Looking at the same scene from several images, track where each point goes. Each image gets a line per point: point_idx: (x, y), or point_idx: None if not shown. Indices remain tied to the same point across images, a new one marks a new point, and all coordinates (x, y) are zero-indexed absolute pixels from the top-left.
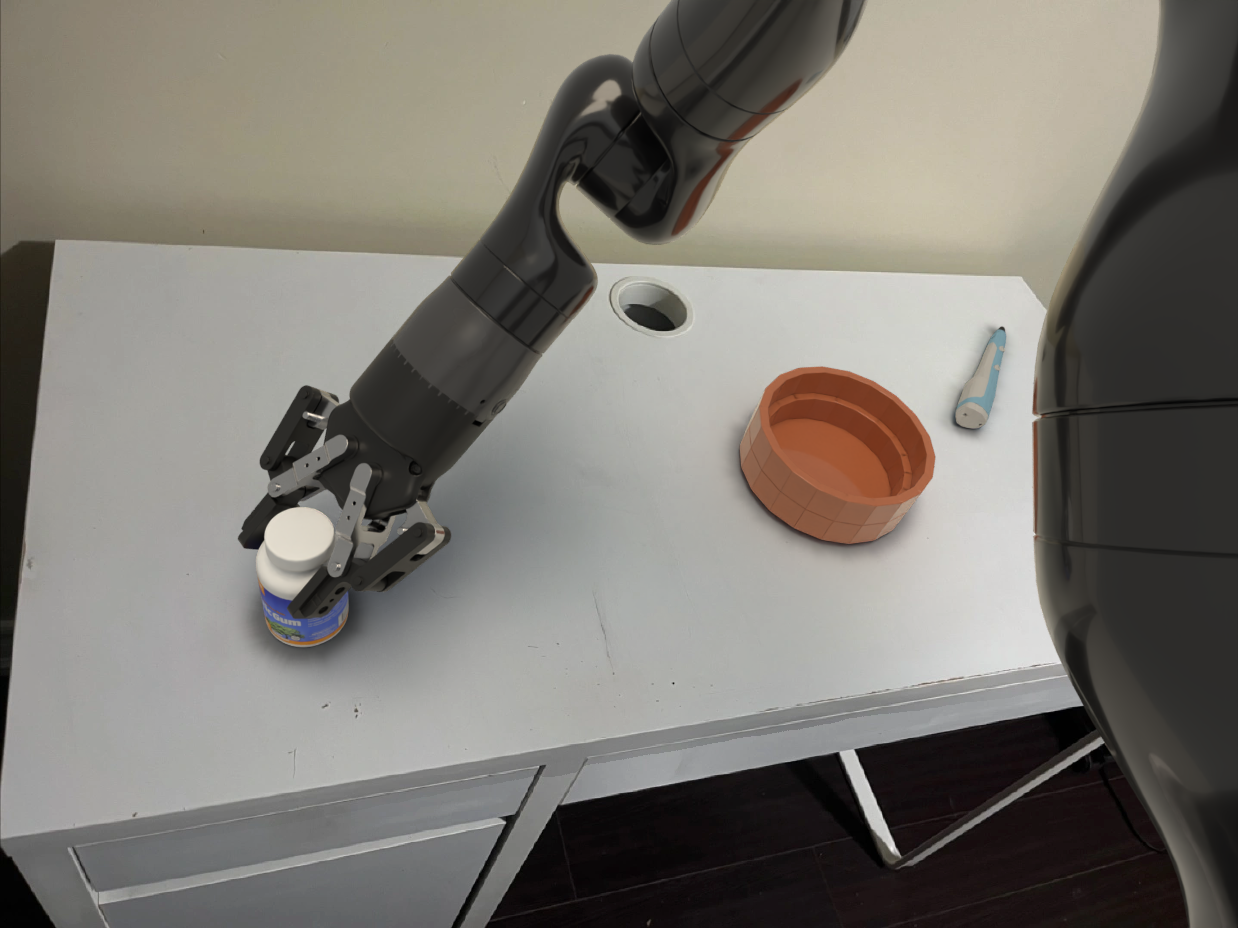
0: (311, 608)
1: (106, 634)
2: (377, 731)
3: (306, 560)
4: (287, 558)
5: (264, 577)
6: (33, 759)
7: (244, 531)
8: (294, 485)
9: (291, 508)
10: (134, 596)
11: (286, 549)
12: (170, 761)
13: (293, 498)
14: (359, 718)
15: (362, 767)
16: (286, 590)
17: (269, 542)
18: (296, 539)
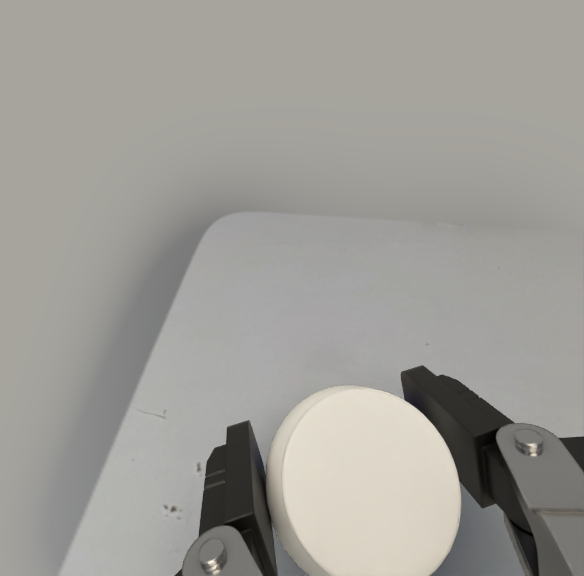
0: (215, 464)
1: (363, 269)
2: (130, 531)
3: (282, 474)
4: (298, 427)
5: (321, 392)
6: (261, 222)
7: (428, 374)
8: (530, 499)
9: (456, 473)
10: (404, 293)
11: (323, 430)
12: (213, 304)
13: (502, 491)
14: (160, 510)
15: (99, 494)
16: (282, 426)
17: (353, 395)
18: (349, 462)
